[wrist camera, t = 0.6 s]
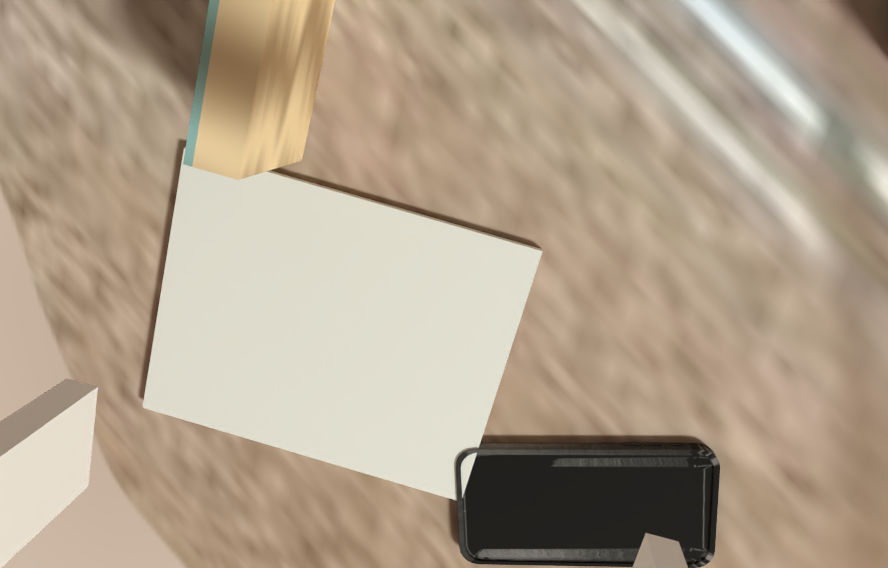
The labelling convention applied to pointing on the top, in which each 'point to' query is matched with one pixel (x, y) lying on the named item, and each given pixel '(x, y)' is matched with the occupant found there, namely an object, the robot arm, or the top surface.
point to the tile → (256, 84)
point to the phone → (586, 502)
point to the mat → (334, 325)
